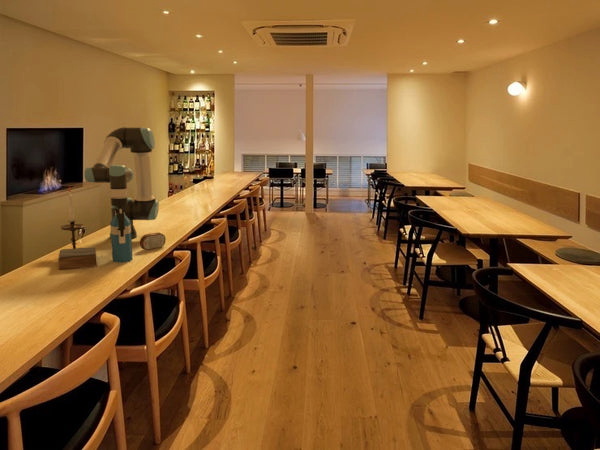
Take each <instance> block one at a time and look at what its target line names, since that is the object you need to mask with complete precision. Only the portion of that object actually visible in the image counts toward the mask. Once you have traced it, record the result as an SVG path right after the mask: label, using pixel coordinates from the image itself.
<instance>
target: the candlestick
mask: <svg viewBox="0 0 600 450" xmlns="http://www.w3.org/2000/svg"><path fill="white" fill-rule="evenodd" d="M68 187H69V188H68V192H69V194H68V196H67V197H68V210H69V220H68V221H67V222H69V224H64V225H61V226H60V229H61V231H70V232H71V238H70V241H71V245H72V249H75V248H77V245H78V243H77V238H76V234H75V232H76V231H78V230H83V229H85V224H81V223H76V220H75V215H74V213H75V212H74V200H73V195H72V191H71V187H70V186H68Z"/></svg>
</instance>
